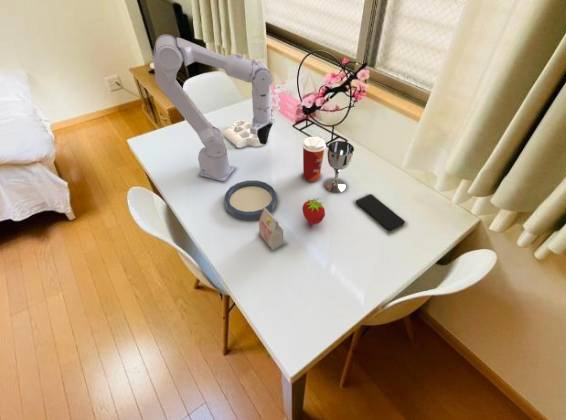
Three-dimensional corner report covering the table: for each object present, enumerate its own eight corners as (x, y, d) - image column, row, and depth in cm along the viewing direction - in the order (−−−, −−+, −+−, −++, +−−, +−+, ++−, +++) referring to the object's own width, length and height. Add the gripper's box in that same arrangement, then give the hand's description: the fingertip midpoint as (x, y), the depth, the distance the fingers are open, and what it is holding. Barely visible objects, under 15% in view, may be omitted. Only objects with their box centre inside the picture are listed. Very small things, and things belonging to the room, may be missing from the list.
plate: (216, 212, 93) (215, 206, 91) (239, 182, 104) (239, 176, 102) (264, 226, 89) (263, 220, 88) (283, 193, 100) (283, 187, 98)
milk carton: (270, 229, 89) (270, 204, 82) (283, 244, 84) (283, 219, 78) (259, 234, 87) (258, 209, 80) (271, 250, 83) (271, 225, 76)
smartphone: (370, 193, 100) (406, 221, 90) (370, 195, 100) (405, 223, 91) (354, 200, 97) (389, 230, 88) (354, 202, 97) (388, 232, 88)
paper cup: (320, 184, 104) (324, 149, 94) (298, 181, 105) (300, 146, 95) (323, 171, 109) (327, 136, 100) (302, 168, 110) (304, 134, 101)
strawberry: (313, 212, 94) (315, 187, 87) (327, 228, 89) (331, 203, 82) (297, 219, 92) (298, 194, 85) (311, 235, 87) (313, 210, 80)
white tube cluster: (219, 133, 127) (248, 123, 133) (241, 153, 117) (272, 141, 123) (218, 126, 125) (248, 116, 131) (240, 145, 114) (272, 134, 121)
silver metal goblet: (351, 185, 104) (359, 147, 93) (337, 196, 99) (344, 158, 89) (332, 175, 108) (338, 138, 97) (318, 185, 103) (322, 147, 93)
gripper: (264, 117, 89) (265, 156, 99) (281, 98, 99) (281, 135, 109) (242, 113, 91) (246, 152, 101) (262, 94, 101) (263, 131, 110)
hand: (263, 143), depth 105 cm, fingers closed
